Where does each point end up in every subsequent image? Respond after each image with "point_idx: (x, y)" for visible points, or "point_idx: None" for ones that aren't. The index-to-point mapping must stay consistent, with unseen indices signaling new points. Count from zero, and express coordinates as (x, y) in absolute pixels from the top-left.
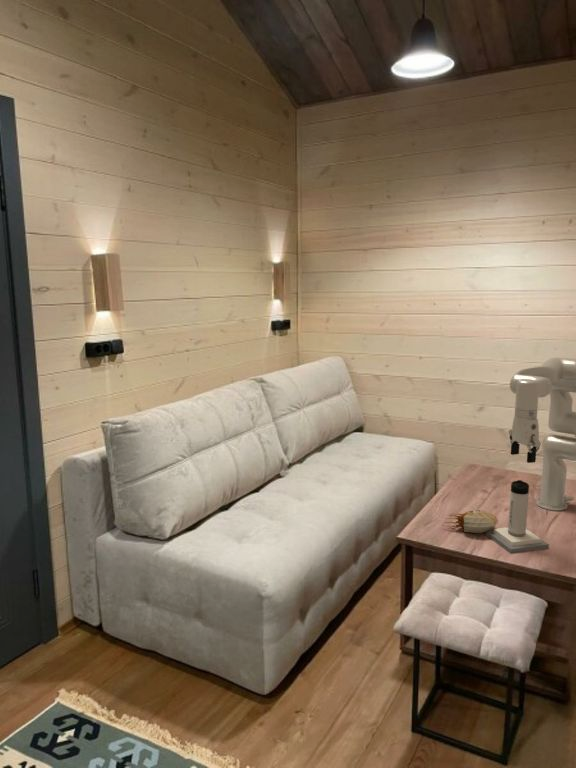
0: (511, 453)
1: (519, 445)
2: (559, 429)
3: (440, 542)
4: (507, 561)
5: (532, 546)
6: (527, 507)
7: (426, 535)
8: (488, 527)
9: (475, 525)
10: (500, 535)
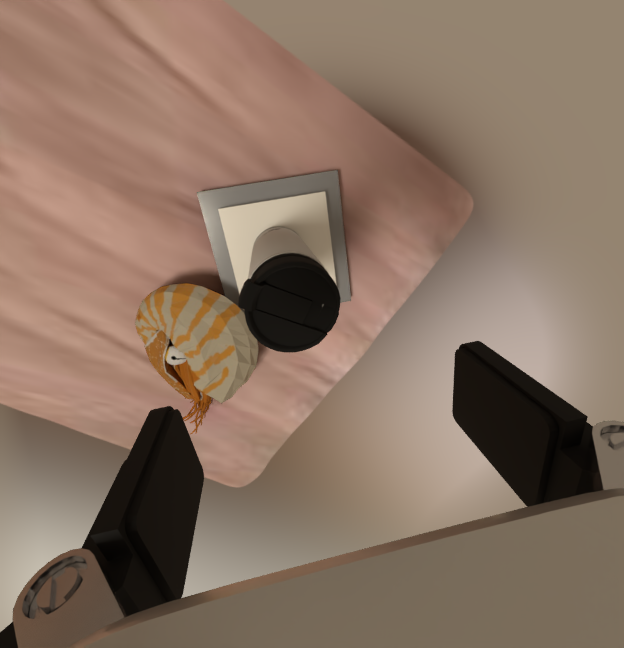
0: (197, 488)
1: (142, 506)
2: None
3: (276, 431)
4: (386, 320)
5: (343, 231)
6: (305, 246)
7: (238, 451)
8: None
9: (251, 370)
10: None
